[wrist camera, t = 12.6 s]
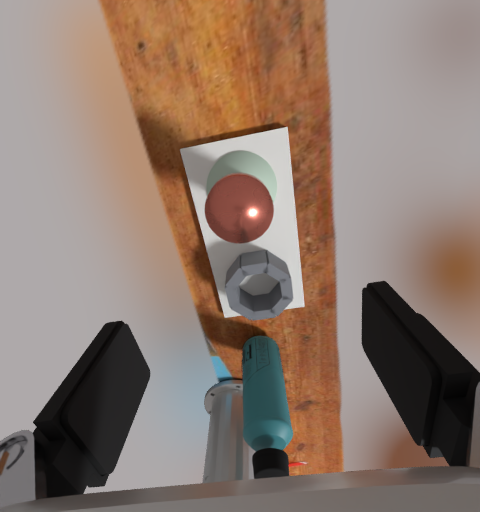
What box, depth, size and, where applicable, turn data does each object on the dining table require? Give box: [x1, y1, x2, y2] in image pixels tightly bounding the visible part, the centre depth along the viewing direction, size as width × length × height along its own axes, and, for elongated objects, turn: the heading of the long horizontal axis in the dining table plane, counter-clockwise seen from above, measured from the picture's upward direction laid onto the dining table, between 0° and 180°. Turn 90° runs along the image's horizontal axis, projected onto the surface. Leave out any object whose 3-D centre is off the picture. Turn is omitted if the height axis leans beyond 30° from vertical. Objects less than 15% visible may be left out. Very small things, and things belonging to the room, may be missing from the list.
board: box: [180, 127, 305, 320], centre depth 34 cm, size 26×13×5 cm, turn 11°
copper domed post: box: [205, 173, 274, 244], centre depth 28 cm, size 6×6×10 cm
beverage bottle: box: [242, 336, 293, 479], centre depth 37 cm, size 6×7×20 cm
